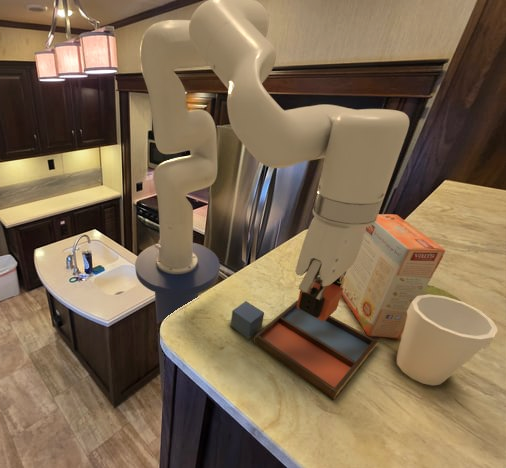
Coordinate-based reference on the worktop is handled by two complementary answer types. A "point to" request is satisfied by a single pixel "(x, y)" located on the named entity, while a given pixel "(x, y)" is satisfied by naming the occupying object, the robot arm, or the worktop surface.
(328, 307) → the terracotta block
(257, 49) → the robot arm
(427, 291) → the mat
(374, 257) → the cracker box
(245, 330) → the slate-blue block
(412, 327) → the foam cup
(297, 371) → the sorting tray
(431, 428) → the worktop surface
